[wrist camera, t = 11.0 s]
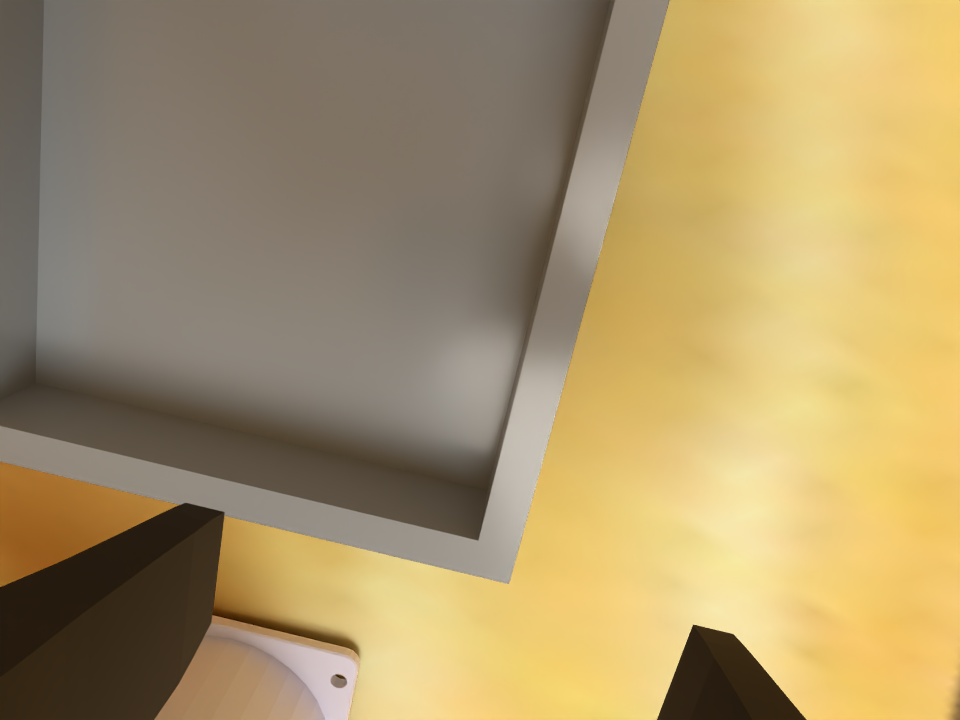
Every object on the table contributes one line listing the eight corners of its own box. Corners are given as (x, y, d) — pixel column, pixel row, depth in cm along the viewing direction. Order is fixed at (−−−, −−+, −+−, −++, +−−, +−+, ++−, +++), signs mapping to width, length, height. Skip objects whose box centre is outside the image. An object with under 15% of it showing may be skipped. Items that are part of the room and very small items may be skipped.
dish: (514, 521, 21) (509, 583, 18) (10, 401, 21) (-73, 444, 18) (668, -55, 16) (695, -93, 13) (16, -204, 16) (-95, -273, 14)
